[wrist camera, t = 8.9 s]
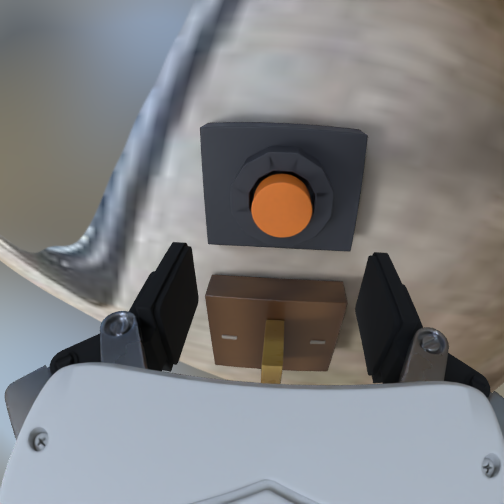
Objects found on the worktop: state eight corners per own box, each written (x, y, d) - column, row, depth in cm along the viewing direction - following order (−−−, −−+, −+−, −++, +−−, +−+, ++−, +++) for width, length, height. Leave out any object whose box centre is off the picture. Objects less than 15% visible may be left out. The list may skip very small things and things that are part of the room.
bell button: (312, 175, 18) (314, 184, 16) (307, 226, 20) (309, 239, 18) (254, 172, 18) (251, 181, 17) (253, 223, 20) (251, 236, 18)
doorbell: (360, 129, 19) (375, 140, 16) (346, 237, 24) (354, 265, 20) (207, 122, 20) (191, 131, 17) (213, 231, 25) (202, 257, 21)
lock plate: (343, 281, 26) (348, 304, 24) (325, 350, 32) (327, 372, 29) (211, 274, 27) (204, 296, 25) (219, 344, 33) (214, 366, 30)
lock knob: (266, 319, 25) (261, 367, 21) (284, 320, 25) (282, 369, 21) (264, 357, 28) (259, 401, 24) (280, 358, 28) (277, 402, 24)
